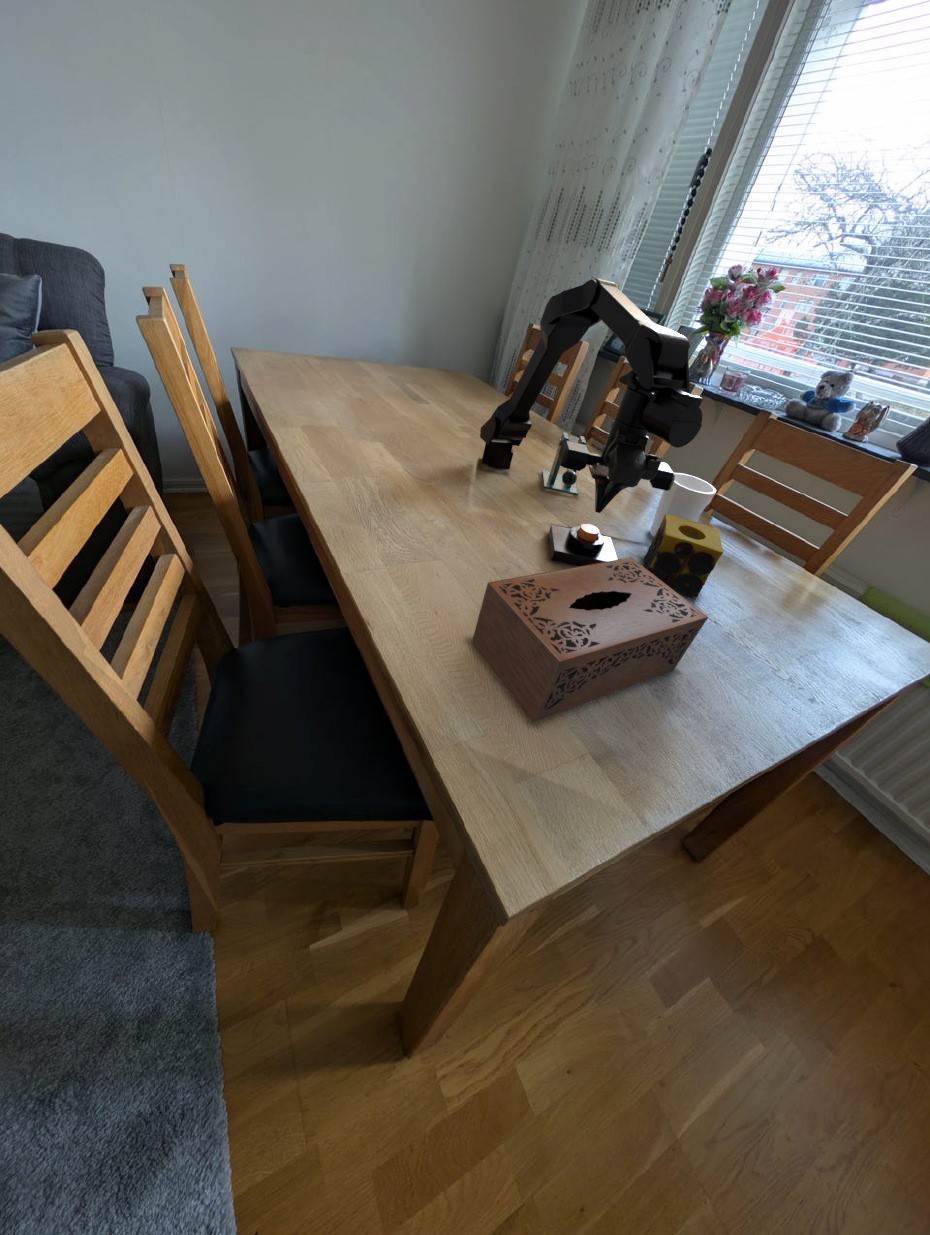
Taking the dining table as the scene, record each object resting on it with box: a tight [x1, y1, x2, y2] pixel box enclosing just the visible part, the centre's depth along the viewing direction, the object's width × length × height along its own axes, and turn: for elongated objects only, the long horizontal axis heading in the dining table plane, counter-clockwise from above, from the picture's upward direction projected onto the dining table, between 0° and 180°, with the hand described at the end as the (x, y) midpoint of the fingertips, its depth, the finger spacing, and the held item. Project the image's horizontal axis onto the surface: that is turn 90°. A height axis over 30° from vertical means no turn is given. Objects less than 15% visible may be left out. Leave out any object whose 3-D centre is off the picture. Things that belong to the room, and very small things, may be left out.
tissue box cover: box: [471, 557, 709, 723], centre depth 64 cm, size 26×14×10 cm, turn 120°
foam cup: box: [649, 472, 717, 538], centre depth 99 cm, size 10×9×13 cm
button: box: [577, 523, 601, 541], centre depth 88 cm, size 4×4×2 cm
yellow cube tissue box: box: [642, 514, 724, 599], centre depth 87 cm, size 10×10×10 cm
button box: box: [547, 524, 619, 567], centre depth 90 cm, size 12×10×4 cm
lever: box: [562, 435, 579, 486], centre depth 107 cm, size 13×3×3 cm, turn 175°
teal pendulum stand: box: [541, 431, 587, 496], centre depth 111 cm, size 10×8×12 cm
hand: (597, 511), depth 85 cm, fingers closed
